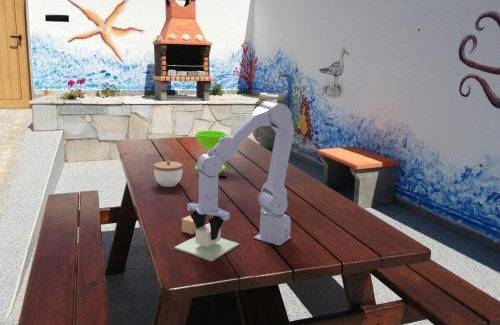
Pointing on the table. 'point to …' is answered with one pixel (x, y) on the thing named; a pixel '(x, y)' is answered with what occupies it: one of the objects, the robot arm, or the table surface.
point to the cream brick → (205, 236)
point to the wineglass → (209, 140)
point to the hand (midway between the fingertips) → (207, 237)
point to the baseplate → (207, 248)
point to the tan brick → (188, 225)
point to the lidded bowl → (168, 173)
